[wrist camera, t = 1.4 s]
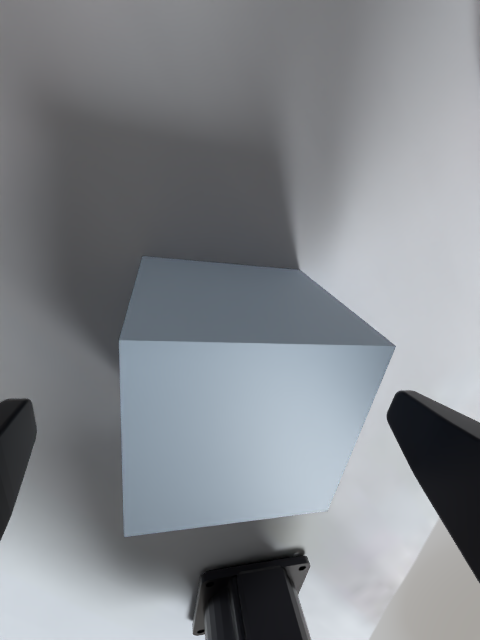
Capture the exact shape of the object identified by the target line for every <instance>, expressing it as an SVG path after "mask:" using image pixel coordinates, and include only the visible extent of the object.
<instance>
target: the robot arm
mask: <svg viewBox="0 0 480 640" xmlns="http://www.w3.org/2000/svg"><path fill="white" fill-rule="evenodd" d="M387 421H388V424H389V426H390V428H391V430H392V432H393V434H394V436H395V438H396V440H397V442H398V444H399V446H400V448H401V450H402V452H403V454H404V456H405V458H406V460H407V462H408V464H409V466H410V468H411V470H412V471H413V473H414V475H415V477H416V479H417V480H418V482H419V484H420V485H421V487H422V489H423V490H424V492H425V494H426V495H427V497H428V499H429V500H430V502H431V504H432V505H433V507H434V509H435V510H436V512H437V514H438V515H439V517H440V519H441V520H442V522H443V524H444V525H445V527H446V528H447V530H448V532H449V533H450V535H451V537H452V538H453V540H454V542H455V543H456V545H457V546H458V548H459V550H460V551H461V553H462V555H463V557H464V558H465V560H466V562H467V563H468V565H469V567H470V568H471V570H472V572H473V573H474V574H475V577H476V578H477V580H478V581H479V583H480V423H479V422H477V421H475V420H473V419H471V418H469V417H467V416H465V415H463V414H461V413H459V412H457V411H455V410H452V409H450V408H448V407H446V406H444V405H442V404H440V403H438V402H436V401H434V400H432V399H430V398H428V397H426V396H423V395H421V394H419V393H417V392H415V391H411V390H406V391H398V392H397V393H396V394H395V396H394V398H393V401H392V403H391V405H390V407H389V410H388V412H387ZM36 433H37V428H36V422H35V416H34V411H33V405H32V402H31V401H30V400H29V399H26V398H22V399H6V400H4V401H2V402H1V403H0V541H1V538H2V536H3V534H4V531H5V529H6V527H7V524H8V522H9V519H10V517H11V514H12V511H13V508H14V506H15V503H16V499H17V496H18V493H19V490H20V487H21V484H22V480H23V477H24V474H25V471H26V468H27V465H28V462H29V458H30V455H31V452H32V449H33V446H34V443H35V439H36ZM309 568H310V563H309V561H308V558H307V556H298V557H292V558H286V559H279V560H273V561H267V562H261V563H255V564H249V565H243V566H237V567H231V568H225V569H218V570H212V571H208V572H205V573H203V574H202V575H201V577H200V582H199V588H198V594H197V600H196V606H195V612H194V618H193V624H192V626H193V635H197V636H198V635H203V634H205V640H311V637H310V634H309V631H308V627H307V624H306V621H305V617H304V614H303V611H302V607H301V604H300V601H299V598H298V593H299V591H300V589H301V587H302V584H303V582H304V580H305V577H306V575H307V573H308V570H309Z"/></svg>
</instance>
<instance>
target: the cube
mask: <svg viewBox="0 0 480 640" xmlns="http://www.w3.org/2000/svg"><path fill="white" fill-rule="evenodd" d="M395 347H396V346H395V345H394V344H393V343H391V342H390V341H389V340H388V339H386V338H385V337H384V336H382V335H381V334H380V333H379V332H377V331H376V330H375V329H374V328H372V327H371V326H370V325H369V324H367V323H366V322H365V321H364V320H362V319H361V318H360V317H359V316H357V315H356V314H355V313H354V312H352V311H351V310H350V309H349V308H347V307H346V306H345V305H343V304H342V303H341V302H340V301H338V300H337V299H336V298H335V297H333V296H332V295H331V294H330V293H328V292H327V291H326V290H325V289H323V288H322V287H321V286H320V285H318V284H317V283H316V282H315V281H313V280H312V279H311V278H310V277H308V276H307V275H306V274H304V273H303V272H302V271H301V270H296V269H285V268H273V267H262V266H250V265H239V264H227V263H216V262H204V261H193V260H181V259H170V258H158V257H147V256H142V260H141V263H140V267H139V270H138V274H137V277H136V281H135V285H134V288H133V292H132V295H131V299H130V302H129V306H128V310H127V313H126V317H125V320H124V324H123V327H122V331H121V335H120V338H119V363H120V403H121V442H122V481H123V520H124V537H129V536H137V535H145V534H153V533H160V532H168V531H176V530H184V529H192V528H199V527H207V526H215V525H223V524H231V523H238V522H246V521H254V520H262V519H269V518H277V517H285V516H293V515H301V514H308V513H316V512H324V511H328V509H329V506H330V504H331V501H332V499H333V496H334V494H335V492H336V489H337V487H338V484H339V482H340V480H341V477H342V475H343V472H344V470H345V468H346V465H347V463H348V460H349V458H350V456H351V453H352V451H353V448H354V446H355V444H356V441H357V439H358V436H359V434H360V432H361V429H362V427H363V424H364V422H365V420H366V417H367V415H368V412H369V410H370V407H371V405H372V403H373V400H374V398H375V395H376V393H377V391H378V388H379V386H380V383H381V381H382V379H383V376H384V374H385V371H386V369H387V367H388V364H389V362H390V359H391V357H392V355H393V352H394V350H395Z"/></svg>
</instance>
